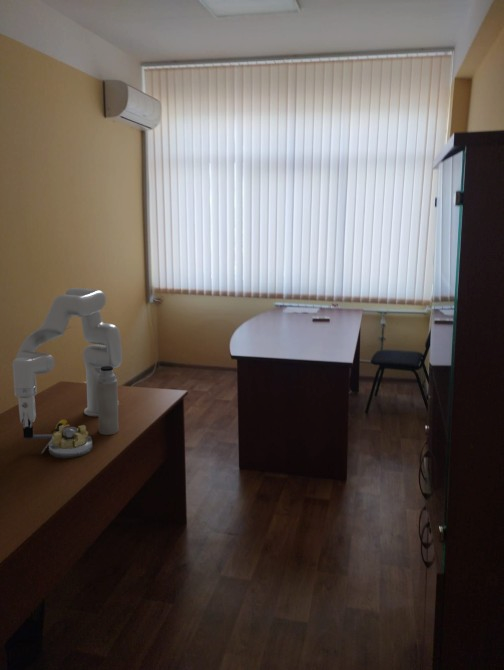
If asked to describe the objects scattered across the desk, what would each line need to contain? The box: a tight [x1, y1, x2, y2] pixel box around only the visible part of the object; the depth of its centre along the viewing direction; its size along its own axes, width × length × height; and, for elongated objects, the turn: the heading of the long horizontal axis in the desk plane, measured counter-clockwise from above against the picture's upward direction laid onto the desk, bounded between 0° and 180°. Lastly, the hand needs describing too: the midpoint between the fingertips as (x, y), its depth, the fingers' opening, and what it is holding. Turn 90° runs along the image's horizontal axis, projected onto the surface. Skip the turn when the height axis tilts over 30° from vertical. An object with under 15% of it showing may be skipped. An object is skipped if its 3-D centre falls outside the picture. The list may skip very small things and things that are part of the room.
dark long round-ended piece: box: [25, 424, 90, 448], centre depth 207 cm, size 23×13×6 cm, turn 96°
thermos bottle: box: [97, 366, 120, 436], centre depth 223 cm, size 8×8×28 cm
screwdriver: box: [40, 419, 68, 456], centre depth 215 cm, size 3×3×30 cm
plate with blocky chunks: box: [48, 423, 93, 459], centre depth 208 cm, size 16×18×8 cm
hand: (28, 436), depth 202 cm, fingers closed
